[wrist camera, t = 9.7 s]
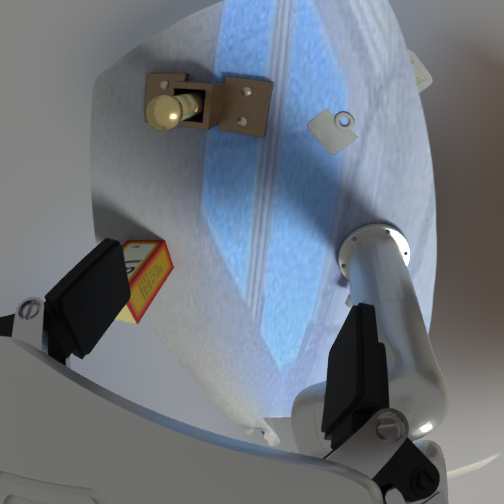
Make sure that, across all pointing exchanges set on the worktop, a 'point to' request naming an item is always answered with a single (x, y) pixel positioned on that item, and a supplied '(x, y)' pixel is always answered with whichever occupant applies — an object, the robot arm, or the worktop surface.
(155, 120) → the pin
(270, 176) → the worktop surface
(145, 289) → the baking soda box
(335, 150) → the mounting bracket
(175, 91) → the hinge base
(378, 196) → the worktop surface
